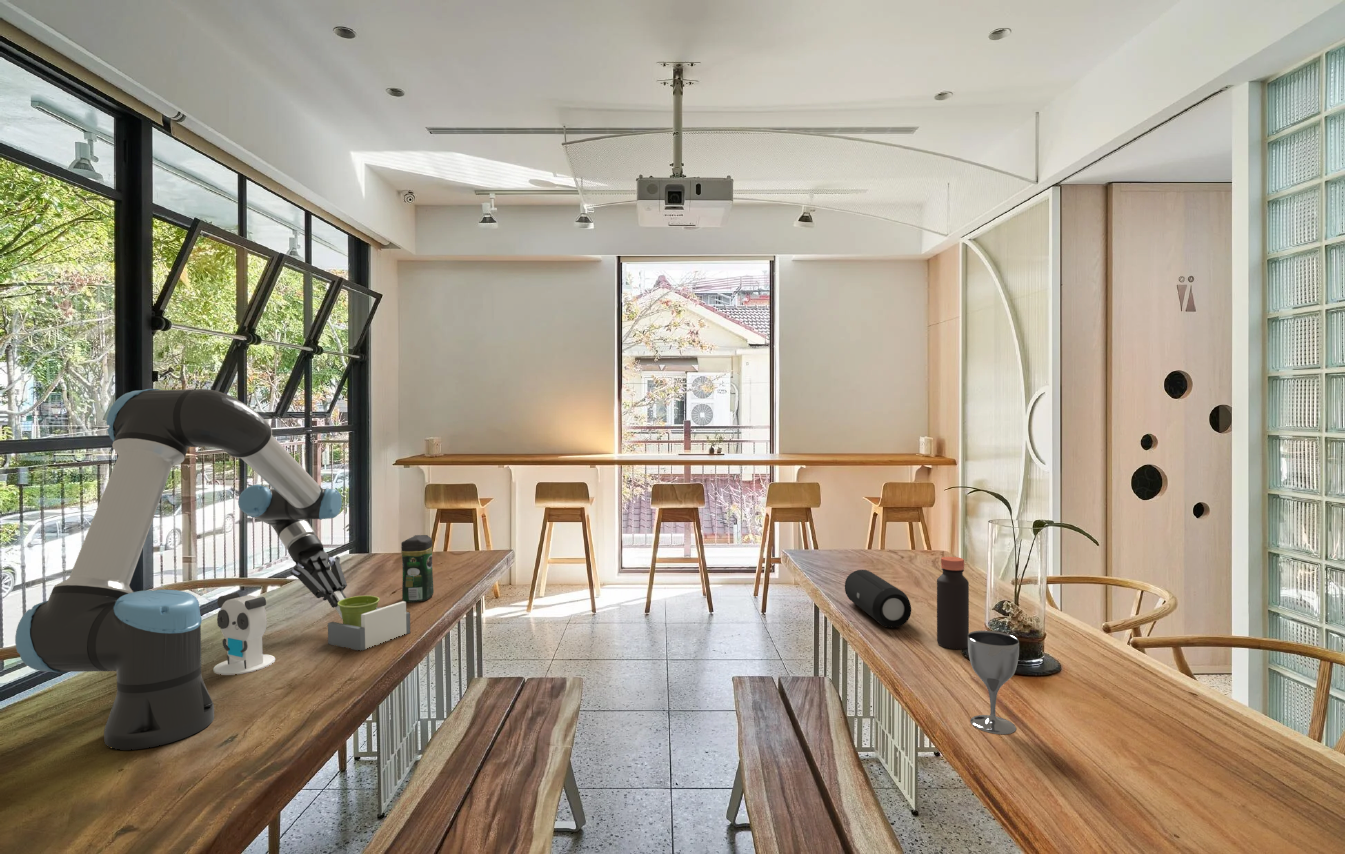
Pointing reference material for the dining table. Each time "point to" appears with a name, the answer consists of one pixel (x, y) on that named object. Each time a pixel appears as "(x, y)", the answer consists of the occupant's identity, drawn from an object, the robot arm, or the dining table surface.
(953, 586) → the bottle
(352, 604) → the plant pot
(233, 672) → the panda figurine
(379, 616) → the box
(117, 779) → the dining table surface
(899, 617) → the portable speaker
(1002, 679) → the wine glass
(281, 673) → the dining table surface
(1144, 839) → the dining table surface
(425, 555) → the coffee jar
